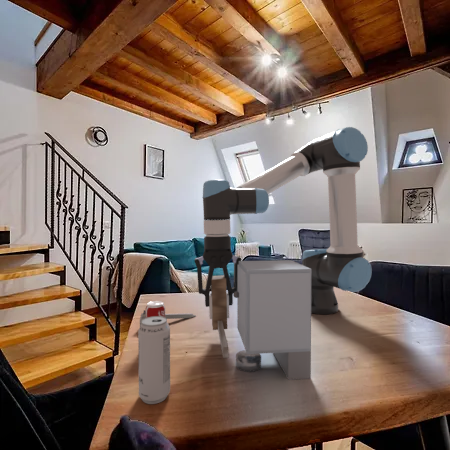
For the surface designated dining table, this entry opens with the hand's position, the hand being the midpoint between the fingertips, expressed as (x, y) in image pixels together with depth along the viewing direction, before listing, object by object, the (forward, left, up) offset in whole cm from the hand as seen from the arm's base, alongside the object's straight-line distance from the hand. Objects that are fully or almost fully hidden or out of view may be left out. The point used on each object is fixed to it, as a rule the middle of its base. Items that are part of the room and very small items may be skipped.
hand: (219, 316), depth 81 cm
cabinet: (-11, +15, -7) cm, 20 cm away
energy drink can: (+15, +24, -7) cm, 29 cm away
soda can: (+18, +2, -7) cm, 19 cm away
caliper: (+16, -16, -7) cm, 23 cm away
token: (-6, +14, -7) cm, 17 cm away
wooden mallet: (0, +8, -3) cm, 8 cm away
